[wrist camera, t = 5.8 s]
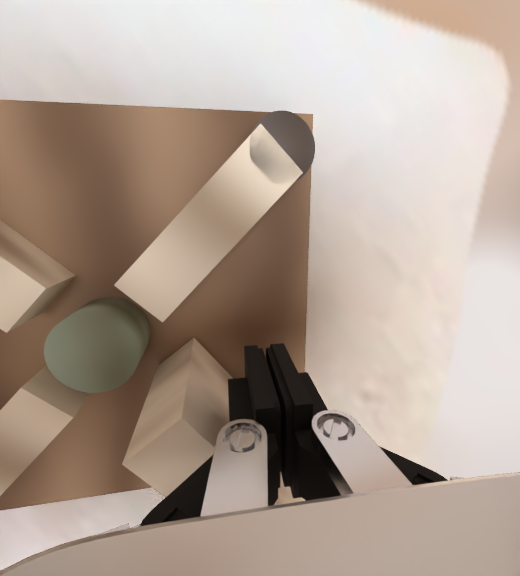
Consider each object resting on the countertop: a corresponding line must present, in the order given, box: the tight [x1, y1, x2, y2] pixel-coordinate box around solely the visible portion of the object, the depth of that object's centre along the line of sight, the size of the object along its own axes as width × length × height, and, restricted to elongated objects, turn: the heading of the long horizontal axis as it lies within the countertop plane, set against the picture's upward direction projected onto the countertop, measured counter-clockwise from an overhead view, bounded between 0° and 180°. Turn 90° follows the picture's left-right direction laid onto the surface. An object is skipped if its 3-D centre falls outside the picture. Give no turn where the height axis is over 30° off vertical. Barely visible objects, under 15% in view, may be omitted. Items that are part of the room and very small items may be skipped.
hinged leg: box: [122, 338, 306, 506], centre depth 13 cm, size 10×3×6 cm, turn 37°
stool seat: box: [0, 100, 315, 510], centre depth 14 cm, size 20×20×5 cm
